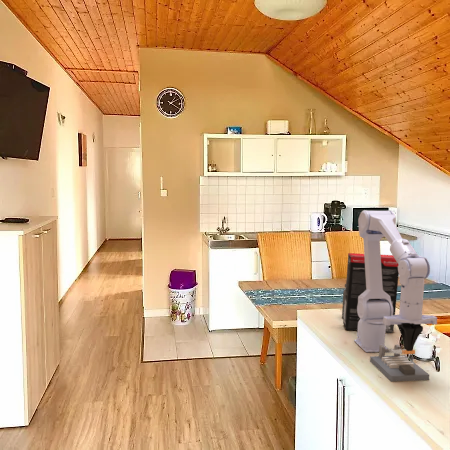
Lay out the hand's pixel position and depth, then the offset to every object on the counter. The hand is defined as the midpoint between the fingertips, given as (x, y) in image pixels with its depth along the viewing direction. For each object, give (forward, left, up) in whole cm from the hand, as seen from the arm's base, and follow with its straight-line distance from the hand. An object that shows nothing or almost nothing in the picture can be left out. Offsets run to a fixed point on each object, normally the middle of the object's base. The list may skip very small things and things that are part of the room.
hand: (408, 349), depth 126 cm
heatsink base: (-4, 0, -8) cm, 9 cm away
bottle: (-49, +4, -8) cm, 50 cm away
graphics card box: (-37, +6, -8) cm, 38 cm away
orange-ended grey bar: (-5, 0, -3) cm, 5 cm away
